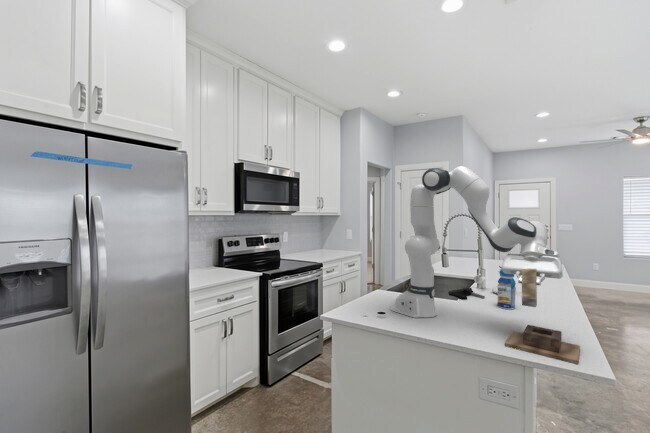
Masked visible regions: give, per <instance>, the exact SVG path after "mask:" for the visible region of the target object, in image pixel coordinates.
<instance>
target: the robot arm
mask: <svg viewBox="0 0 650 433" xmlns="http://www.w3.org/2000/svg"><path fill="white" fill-rule="evenodd" d="M421 182H422V183H420V184H417V185H415V186H413V187H412V189H411V194H410V203H409V204H410V205H409V206H410V211H409V212H410V224H411V226H412V229H413V231H414V235H413V236H411V237H410V238H409V239H407V241H406V242H405V243H404V251H405V253H406V254H407V256H408V262H409V267H410V282H409V283H408V284H407V285H405V288H406V290H405V291H403V292H402V293H401V294H399V295H398V296H397V297H396V299H395V301H394V304H393V305H391V306H390V311H392V312H395V313H398V314H401V315H404V316H407V317H411V318H414V319H415V318H433V317H436V316H437V314H438V313H437V310H436V305H435V295H436V292H435V291H436V289H435V284H434V283H435V269H434V267H433V265H432V260H431V258H432V257H431V256H433V255H434V254H436V252H437V251H438V250H439V249H440V241H439V239H438V235H437V231H436V225H435V217H434V216H435V214H434V213H435V212H434V204H435V203H434V199H435V196H436V195H439V194H441V193H445V192H447V191H449V190H451V188H452V189H453V190H454V191H456V192H457V193H458V194H459V195H460V196H461V197H462V199H463V200H464V202H465V203H466V205H467V210H468V213H469V214H470V215H471V218H472V219H473V220H474V222H475V223H476V225H478V227H479V228H480V229H481V232H483V233H484V236H485V237H486V238H487V240H488V243H489V245H491V247H492V248H493V249H494V250H496V251H498V252H500V253H501V252H502V253H506V254H504V255H503V257H502V264H501V267H502V271H503V272H504V273H506V274H514V275H515V277H516V278H517V283H518V284H521V285H522V268H533V269H537V271H536V272H537V279H536V285H537V286H541V285H542V282H544V280H546V279H547V278H548V279H549V278H550V279H559V280H560V279H562V278H563V265H562V260H561V259H560V255H559V251H556V250H554V249H549V248H547V245H548V237H549V236H548V229H547V227H546V225H545V224H544V223H542V222H540V221H538V220H531V221H528V220H526V219H523V218H521V217H516V216H515V217H511V218H509V219H508V220H506V221H505V222H504V223H503V224H502V225H501V226H500V227H499V228H498V227H497V226H496V224H495V223H494V222H493V219H491V218H490V216H489V215H488V213H487V203H488V200H489V198H490V187H489V186H488V185H487V183H486V182H485V181H484V180H483V179H482V178H481V177H480V176H479V175H477V173H475V172H474V171H472V170H471V169H470V168H468V167H466V166H465V165H458V166H456V167H455V168H453V169H452V170H451V171H449V170H446V169H443V168H438V167H433V168H429V169H427V170H426V171H424V172H423V175H422V177H421ZM518 244H519V245H520V246H521V247H520V253H519V254H518V253H510V251H511V250H512V249H514V248H515V246H516V245H518ZM538 277H539V278H538Z"/></svg>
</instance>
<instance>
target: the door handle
mask: <svg viewBox="0 0 650 433" xmlns="http://www.w3.org/2000/svg"><path fill="white" fill-rule="evenodd" d="M447 294H448V295H449V296H450V297H454V298H456V299H459V300H460V299H461V300H464V301H466V300H467V299H468V297H470V296H471V297H475V298H478V299H481V300H482V299H485V298H486V297H485V295H482V294H479V293H476V292H474V291H473V289H472V287H464V288H458V289H454V290H448V293H447Z"/></svg>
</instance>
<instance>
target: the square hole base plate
mask: <svg viewBox="0 0 650 433" xmlns="http://www.w3.org/2000/svg"><path fill="white" fill-rule="evenodd" d="M562 335H563V334H562V331H561V330H555V329H550V328H546V327H541V326H538V325H531V324H527V325H526V327H525V328H524V330H523V332H519V331H514V330H513V331H512V332H511V333H510V334H509V336H508V338H507V339H506V341H505V342H504V347H507V346H509V347H508V348H511V347H512V348H511V349H515V348H516V349H515V350H519V349H520V350H519V351H522V352H527V353H531V354H535V355H538V356H543V357H547V358H552V359H555V360H559V361H564V362H566V363H571V364H576V365H579V360H580V359H579V358H580V351H581V350H580V349H581V345H578V344H574V343H571V342H570V343H568V342H566V341H562Z"/></svg>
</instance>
